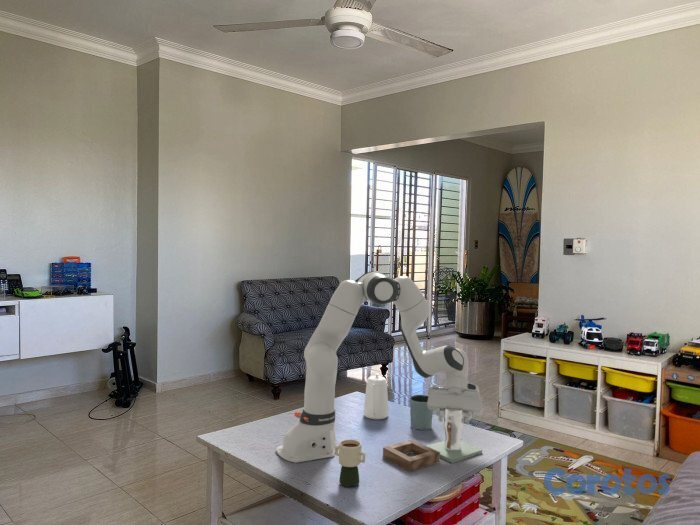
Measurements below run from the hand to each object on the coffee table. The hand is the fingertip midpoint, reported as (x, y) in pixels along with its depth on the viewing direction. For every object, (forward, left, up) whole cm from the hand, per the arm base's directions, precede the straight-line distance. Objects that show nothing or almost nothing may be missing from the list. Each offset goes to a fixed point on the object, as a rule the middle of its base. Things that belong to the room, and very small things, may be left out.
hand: (453, 422), depth 191 cm
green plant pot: (+8, +25, -11) cm, 29 cm away
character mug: (-47, 0, -11) cm, 48 cm away
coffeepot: (0, +45, -11) cm, 47 cm away
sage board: (0, 0, -11) cm, 11 cm away
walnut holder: (-18, +3, -11) cm, 21 cm away
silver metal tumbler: (0, +1, -10) cm, 10 cm away
